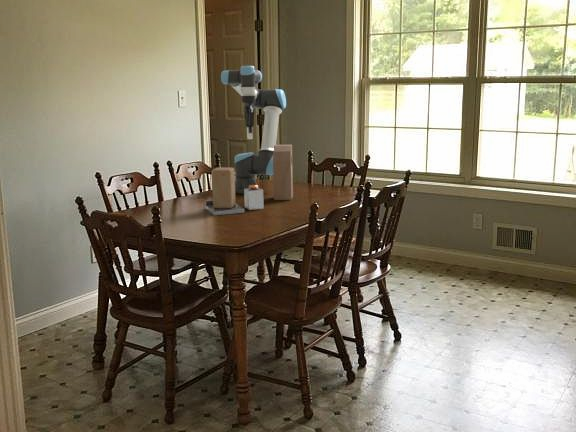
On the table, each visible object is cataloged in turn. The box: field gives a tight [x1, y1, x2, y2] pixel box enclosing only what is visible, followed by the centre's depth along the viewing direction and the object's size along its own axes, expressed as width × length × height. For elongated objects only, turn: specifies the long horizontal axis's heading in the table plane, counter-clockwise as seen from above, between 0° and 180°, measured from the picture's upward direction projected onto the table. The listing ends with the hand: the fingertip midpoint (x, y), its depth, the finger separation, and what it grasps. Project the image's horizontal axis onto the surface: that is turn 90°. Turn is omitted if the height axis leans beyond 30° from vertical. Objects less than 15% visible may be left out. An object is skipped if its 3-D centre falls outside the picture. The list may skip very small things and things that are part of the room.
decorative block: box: [272, 144, 294, 201], centre depth 357 cm, size 10×10×30 cm
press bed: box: [204, 199, 245, 216], centre depth 330 cm, size 18×16×4 cm
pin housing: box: [243, 186, 265, 211], centre depth 334 cm, size 8×8×10 cm
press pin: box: [249, 184, 259, 190], centre depth 334 cm, size 5×5×11 cm
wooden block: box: [211, 167, 237, 208], centre depth 328 cm, size 10×10×20 cm
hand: (249, 138), depth 348 cm, fingers closed
